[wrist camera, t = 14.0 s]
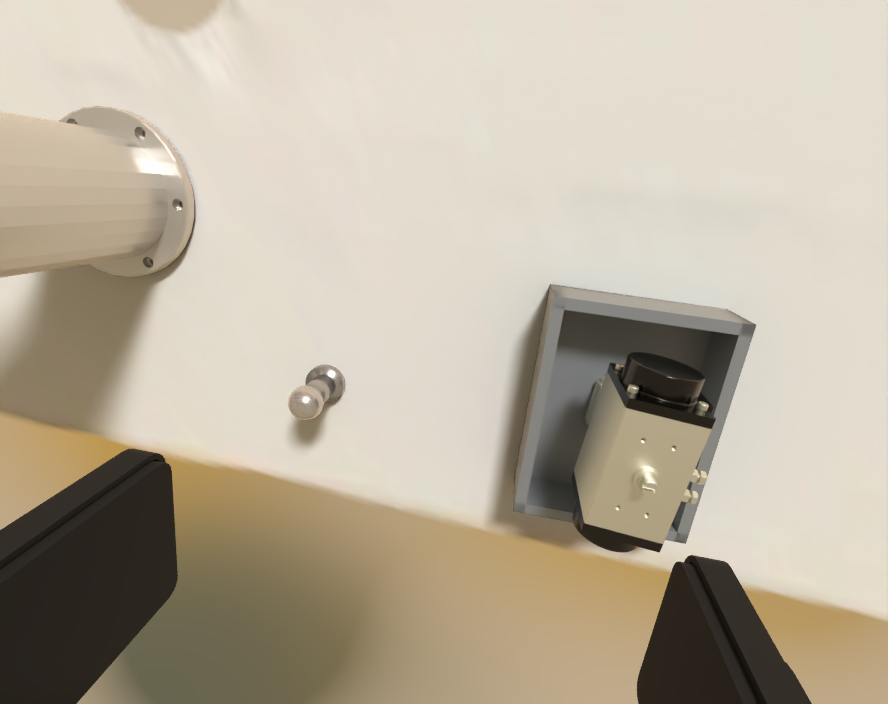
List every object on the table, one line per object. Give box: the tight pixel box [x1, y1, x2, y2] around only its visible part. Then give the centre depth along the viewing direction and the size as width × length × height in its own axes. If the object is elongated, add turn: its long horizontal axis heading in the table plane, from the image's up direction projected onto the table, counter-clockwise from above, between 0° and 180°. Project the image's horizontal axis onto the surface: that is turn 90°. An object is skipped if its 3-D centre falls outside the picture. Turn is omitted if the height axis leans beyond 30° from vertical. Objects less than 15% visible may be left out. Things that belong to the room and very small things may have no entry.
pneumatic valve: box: [571, 352, 716, 552], centre depth 33 cm, size 6×12×12 cm, turn 168°
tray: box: [513, 284, 756, 544], centre depth 37 cm, size 13×17×5 cm
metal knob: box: [288, 365, 345, 420], centre depth 40 cm, size 3×3×6 cm
